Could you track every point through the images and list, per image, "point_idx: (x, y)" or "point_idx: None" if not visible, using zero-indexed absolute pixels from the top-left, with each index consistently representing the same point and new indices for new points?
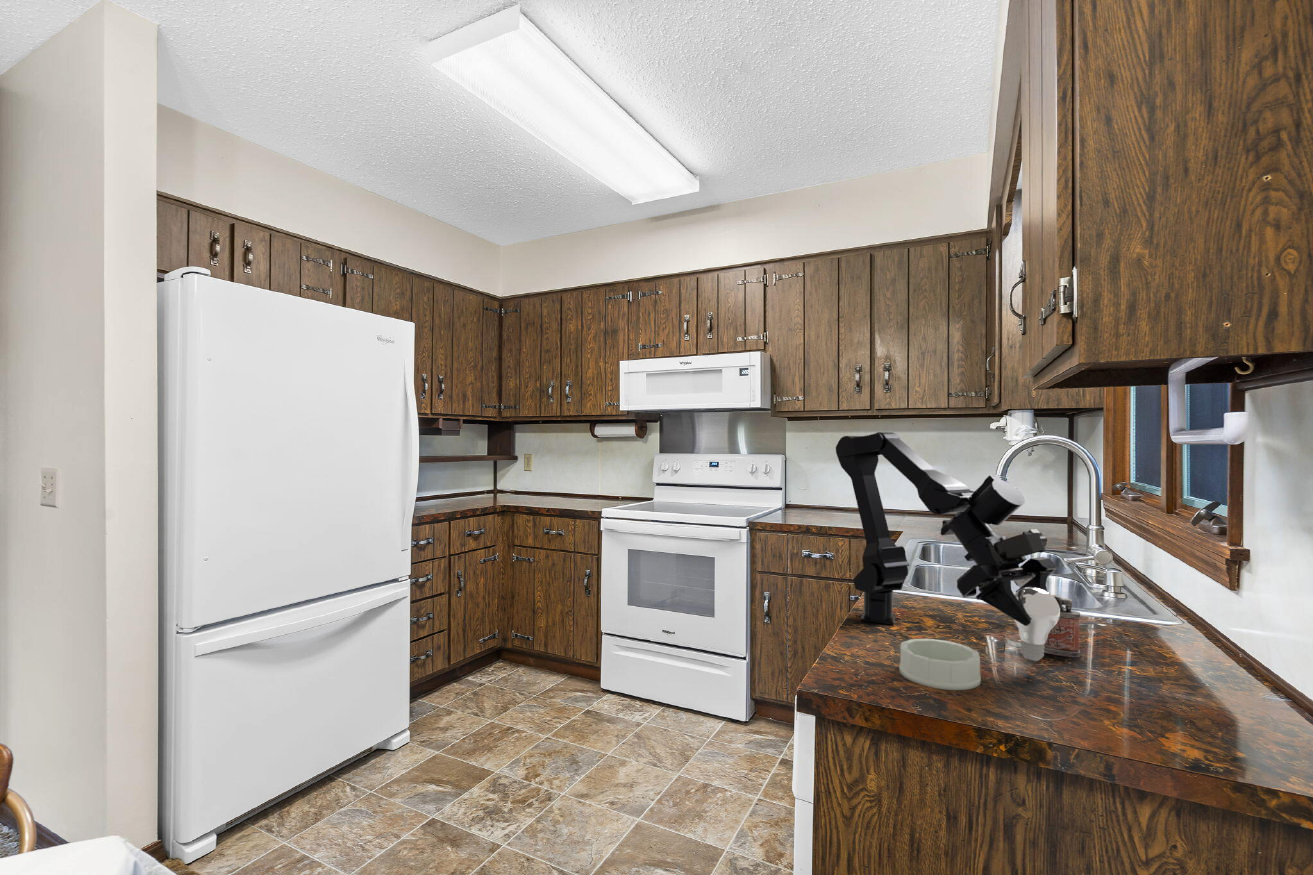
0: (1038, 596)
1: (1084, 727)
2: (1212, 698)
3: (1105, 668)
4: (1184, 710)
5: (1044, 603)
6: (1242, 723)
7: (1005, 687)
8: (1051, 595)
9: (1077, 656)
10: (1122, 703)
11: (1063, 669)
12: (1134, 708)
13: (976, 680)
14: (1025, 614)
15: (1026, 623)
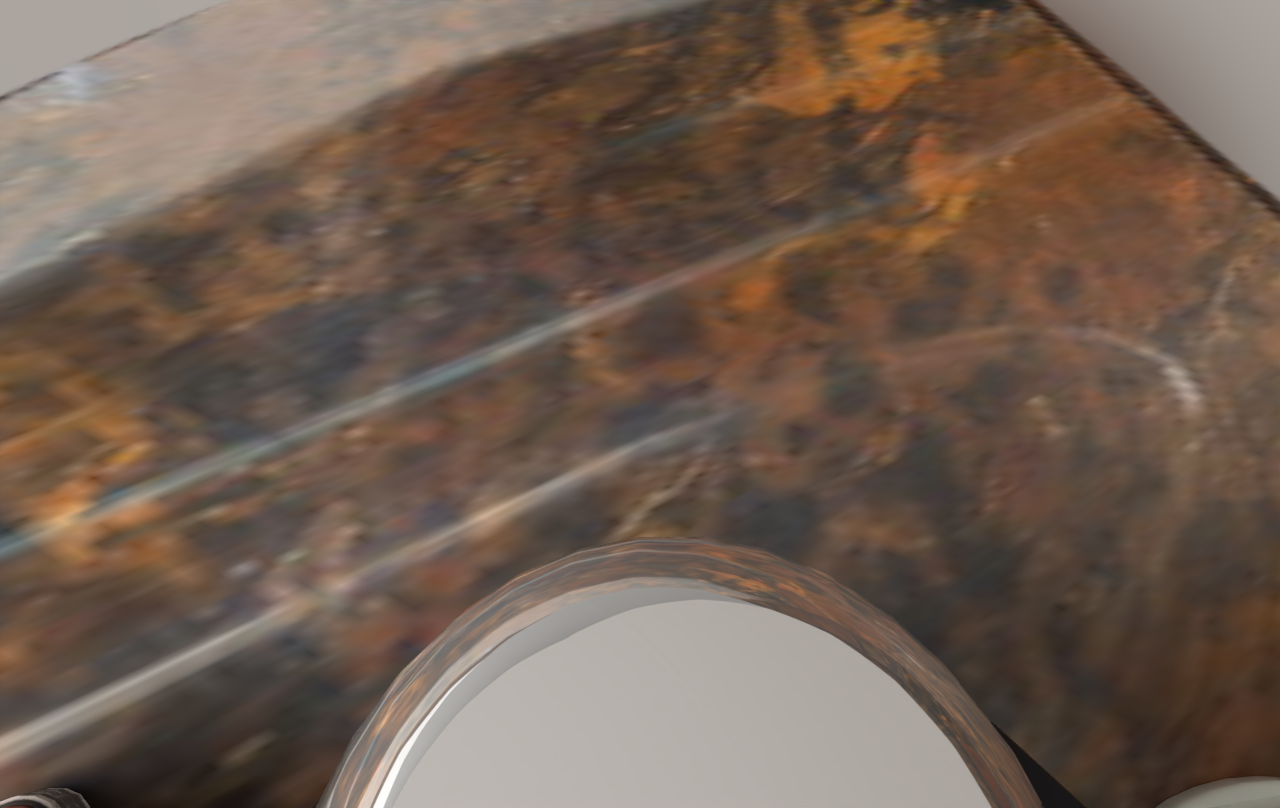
0: (937, 763)
1: (1061, 250)
2: (269, 169)
3: (190, 573)
4: (515, 166)
5: (872, 622)
6: (472, 49)
7: (1038, 685)
8: (564, 669)
9: (66, 791)
10: (663, 296)
11: None
12: (674, 252)
13: (1255, 790)
14: (1049, 798)
15: None
